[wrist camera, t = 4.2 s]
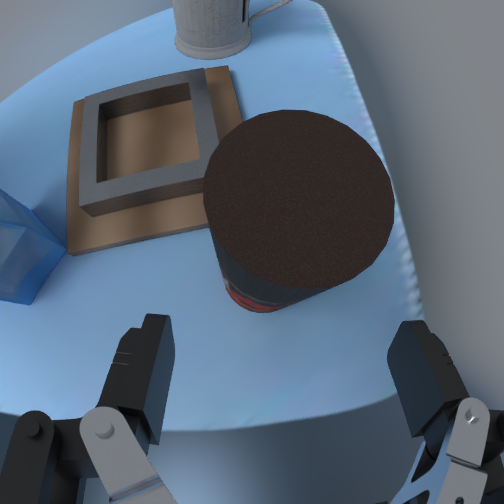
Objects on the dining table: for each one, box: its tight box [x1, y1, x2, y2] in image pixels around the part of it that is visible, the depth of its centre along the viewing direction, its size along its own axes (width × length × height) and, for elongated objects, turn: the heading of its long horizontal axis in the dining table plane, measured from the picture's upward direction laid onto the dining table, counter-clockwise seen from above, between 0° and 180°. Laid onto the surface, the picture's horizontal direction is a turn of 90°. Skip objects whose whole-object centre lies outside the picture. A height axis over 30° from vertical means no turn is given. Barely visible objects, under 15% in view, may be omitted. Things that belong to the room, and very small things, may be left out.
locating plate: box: [67, 65, 243, 256], centre depth 24 cm, size 16×16×4 cm
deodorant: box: [203, 110, 395, 313], centre depth 16 cm, size 6×6×15 cm
